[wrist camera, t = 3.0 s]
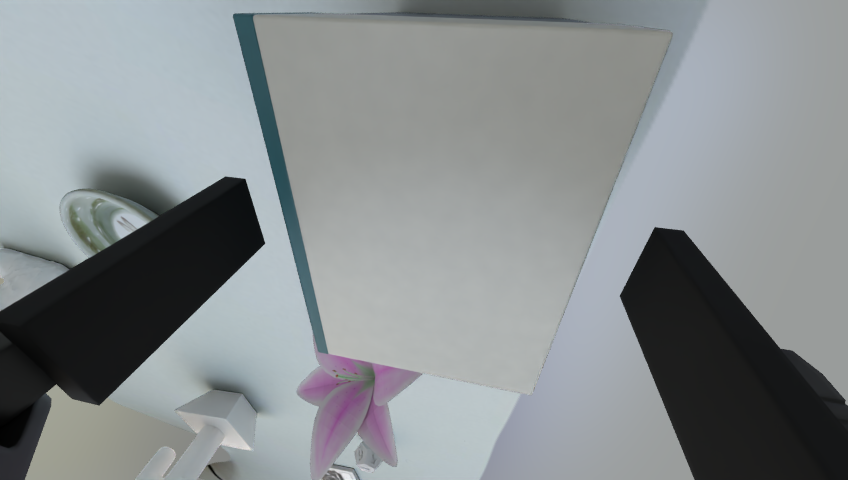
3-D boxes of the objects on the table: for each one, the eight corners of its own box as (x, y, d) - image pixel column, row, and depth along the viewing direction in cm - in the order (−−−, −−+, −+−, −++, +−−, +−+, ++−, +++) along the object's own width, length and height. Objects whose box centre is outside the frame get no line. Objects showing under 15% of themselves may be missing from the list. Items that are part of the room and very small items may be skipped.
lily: (471, 301, 25) (398, 358, 17) (455, 433, 28) (385, 538, 19) (351, 267, 31) (255, 297, 23) (347, 378, 33) (259, 442, 25)
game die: (362, 429, 39) (352, 456, 36) (392, 440, 39) (384, 468, 36) (357, 440, 41) (348, 467, 38) (386, 451, 41) (378, 479, 38)
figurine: (190, 380, 41) (58, 534, 29) (255, 389, 39) (140, 560, 27) (218, 412, 45) (111, 560, 33) (278, 422, 43) (187, 584, 30)
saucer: (100, 244, 29) (71, 261, 27) (81, 152, 23) (42, 165, 21) (205, 294, 30) (184, 314, 28) (211, 217, 24) (185, 235, 22)
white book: (308, 12, 10) (231, 13, 7) (622, 24, 9) (677, 30, 6) (349, 295, 17) (317, 352, 14) (528, 327, 16) (532, 396, 13)
